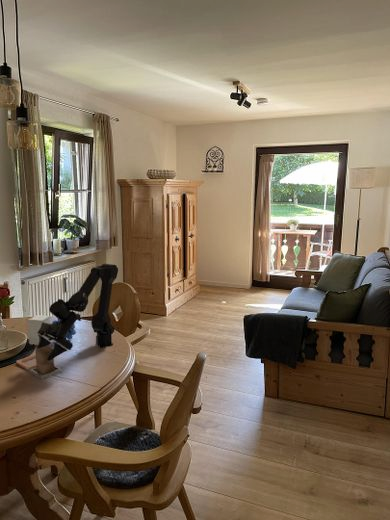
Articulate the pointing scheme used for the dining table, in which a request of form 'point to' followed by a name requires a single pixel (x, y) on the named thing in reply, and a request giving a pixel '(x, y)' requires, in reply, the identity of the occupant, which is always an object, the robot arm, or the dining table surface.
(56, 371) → the grey metal socket
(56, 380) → the dining table surface
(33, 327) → the supplement box
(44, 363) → the walnut plug block
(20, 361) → the terracotta socket
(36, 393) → the dining table surface
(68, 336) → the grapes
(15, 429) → the dining table surface
